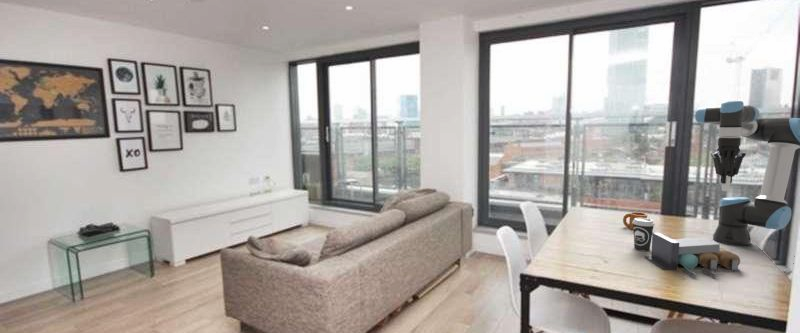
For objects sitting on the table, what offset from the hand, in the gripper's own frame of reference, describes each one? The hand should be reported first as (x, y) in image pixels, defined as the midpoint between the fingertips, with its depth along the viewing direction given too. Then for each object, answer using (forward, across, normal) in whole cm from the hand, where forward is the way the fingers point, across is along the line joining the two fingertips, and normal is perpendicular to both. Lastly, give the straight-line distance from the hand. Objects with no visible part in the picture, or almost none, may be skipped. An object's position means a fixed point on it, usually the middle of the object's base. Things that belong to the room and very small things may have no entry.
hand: (725, 190), depth 174 cm
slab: (+26, +15, +3) cm, 30 cm away
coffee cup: (+33, +25, -17) cm, 44 cm away
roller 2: (+32, +11, +3) cm, 34 cm away
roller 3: (+32, +2, +3) cm, 32 cm away
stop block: (+32, +27, +3) cm, 42 cm away
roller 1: (+32, +16, +3) cm, 36 cm away
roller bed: (+32, +12, +7) cm, 35 cm away
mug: (+33, +10, -55) cm, 65 cm away
